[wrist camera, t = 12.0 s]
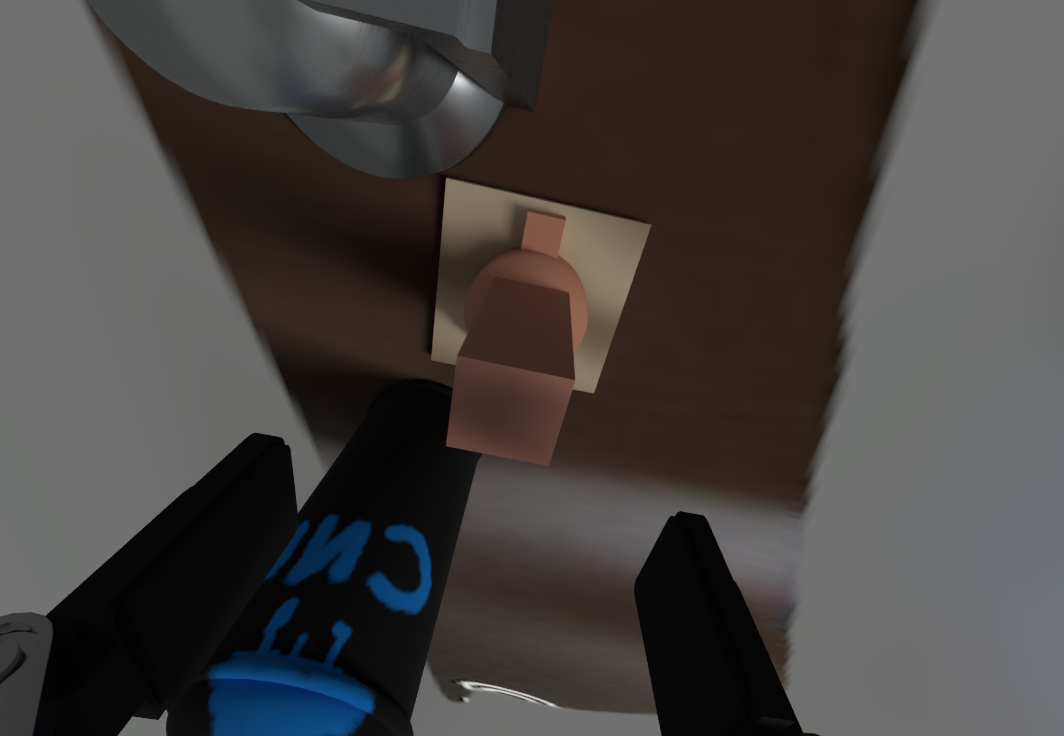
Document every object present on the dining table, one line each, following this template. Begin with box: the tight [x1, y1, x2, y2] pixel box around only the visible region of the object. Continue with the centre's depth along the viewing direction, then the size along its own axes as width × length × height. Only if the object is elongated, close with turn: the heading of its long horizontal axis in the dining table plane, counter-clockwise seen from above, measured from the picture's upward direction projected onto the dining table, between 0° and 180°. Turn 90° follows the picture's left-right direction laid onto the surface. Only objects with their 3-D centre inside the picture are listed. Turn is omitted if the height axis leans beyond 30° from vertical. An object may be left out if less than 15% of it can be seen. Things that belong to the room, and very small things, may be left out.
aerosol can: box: [166, 381, 483, 736], centre depth 18 cm, size 8×8×20 cm
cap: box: [446, 208, 588, 466], centre depth 17 cm, size 10×6×10 cm, turn 168°
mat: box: [431, 177, 651, 393], centre depth 21 cm, size 10×10×1 cm
